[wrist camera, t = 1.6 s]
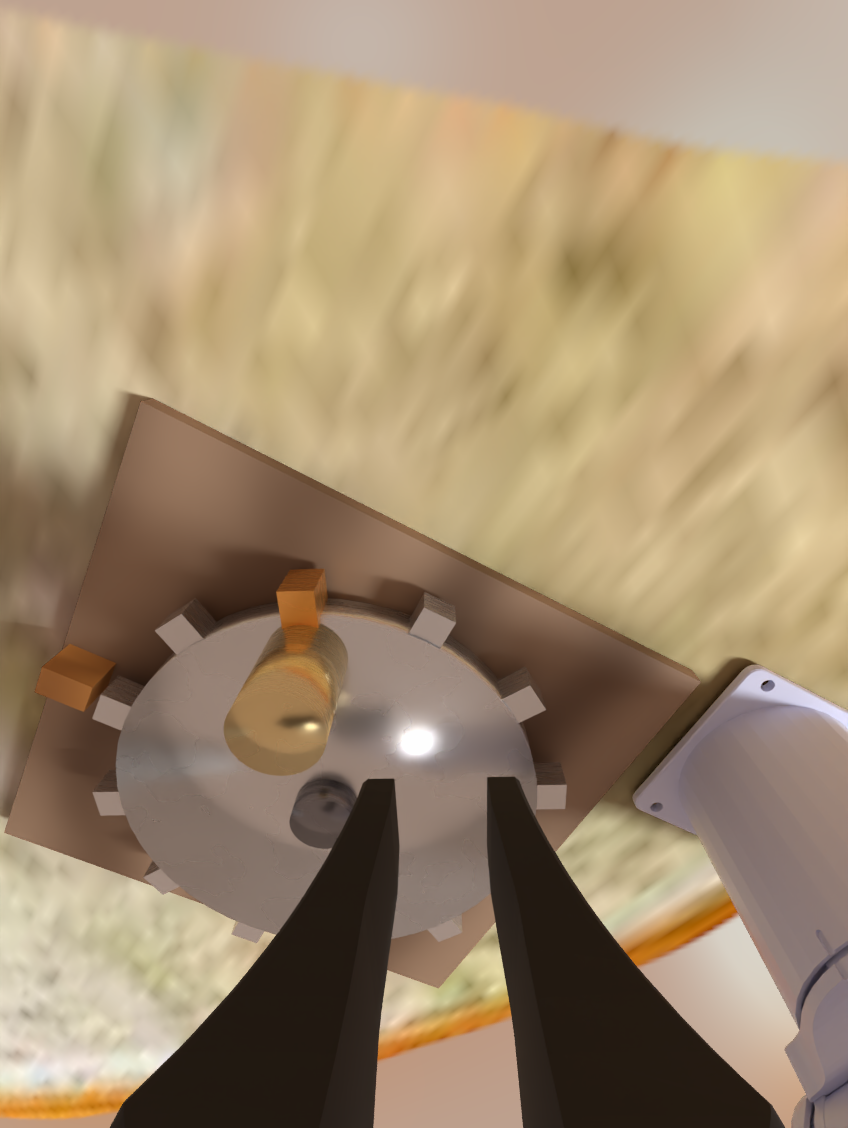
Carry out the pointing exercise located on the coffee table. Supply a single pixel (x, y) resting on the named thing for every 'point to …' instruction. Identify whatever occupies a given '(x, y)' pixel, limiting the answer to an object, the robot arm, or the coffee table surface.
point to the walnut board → (353, 572)
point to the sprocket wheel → (317, 752)
